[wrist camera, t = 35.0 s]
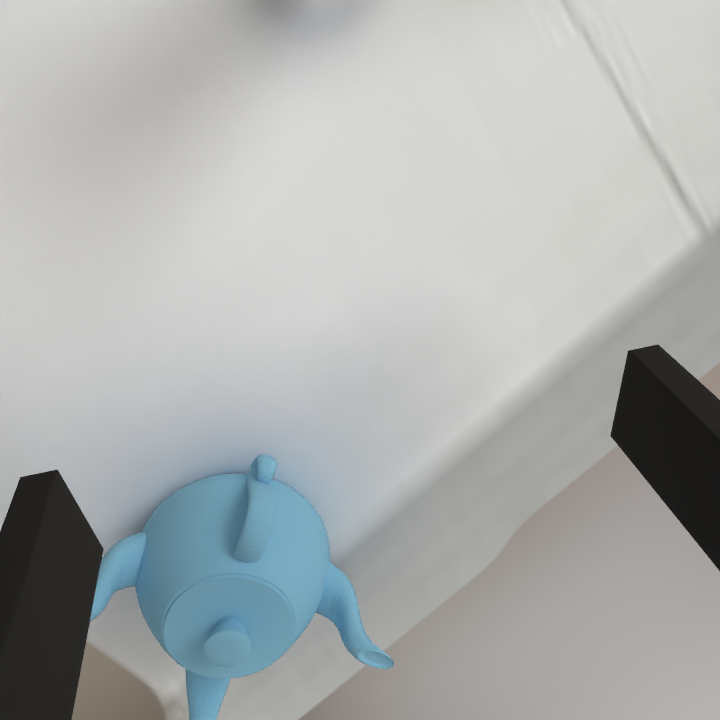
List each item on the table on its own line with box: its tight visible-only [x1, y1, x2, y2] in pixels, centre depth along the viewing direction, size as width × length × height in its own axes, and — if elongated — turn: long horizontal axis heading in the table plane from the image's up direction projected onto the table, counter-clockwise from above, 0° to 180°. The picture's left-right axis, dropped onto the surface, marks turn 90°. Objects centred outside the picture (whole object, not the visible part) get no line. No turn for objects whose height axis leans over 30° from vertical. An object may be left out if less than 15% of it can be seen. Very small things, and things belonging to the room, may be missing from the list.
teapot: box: [90, 455, 394, 720], centre depth 38 cm, size 15×15×10 cm
